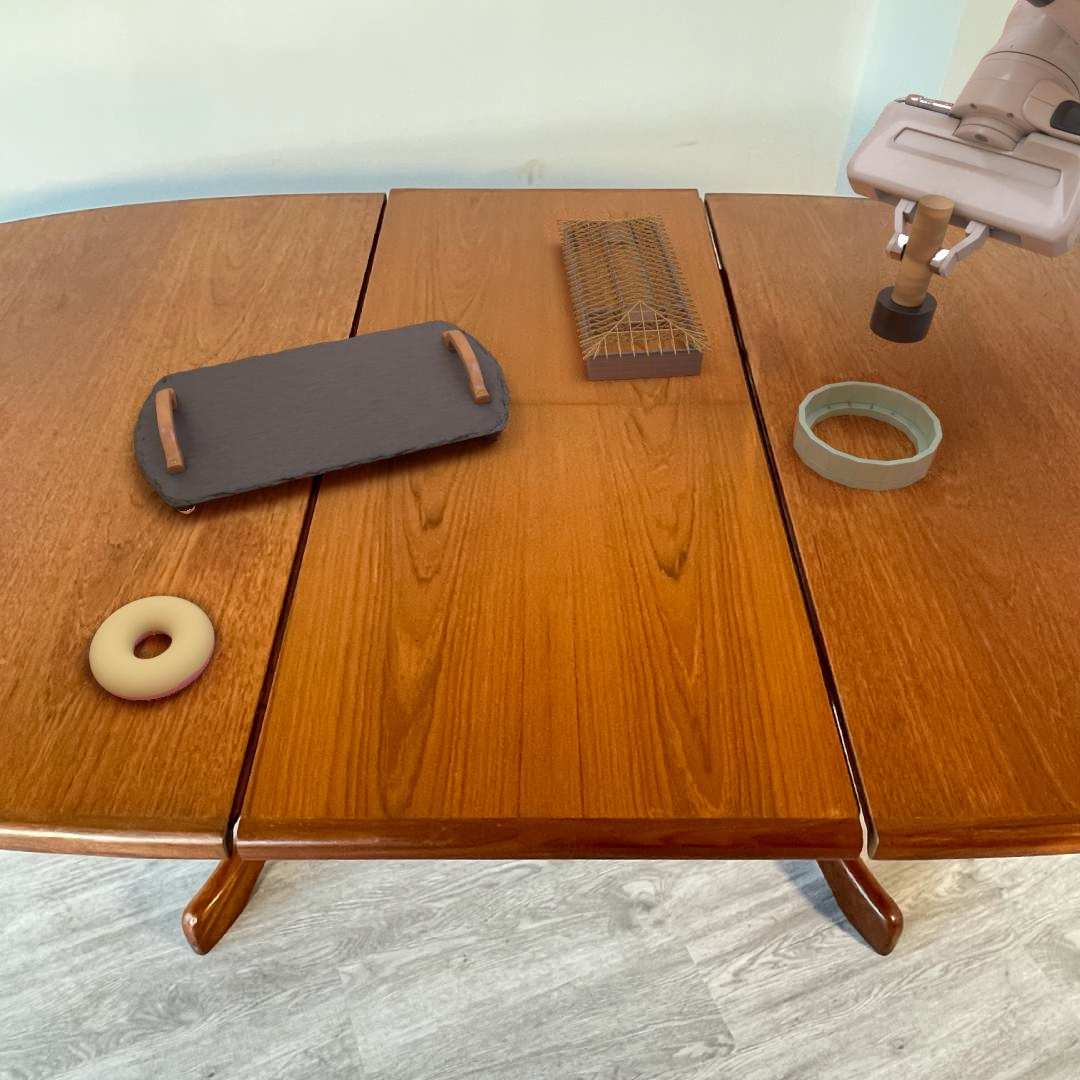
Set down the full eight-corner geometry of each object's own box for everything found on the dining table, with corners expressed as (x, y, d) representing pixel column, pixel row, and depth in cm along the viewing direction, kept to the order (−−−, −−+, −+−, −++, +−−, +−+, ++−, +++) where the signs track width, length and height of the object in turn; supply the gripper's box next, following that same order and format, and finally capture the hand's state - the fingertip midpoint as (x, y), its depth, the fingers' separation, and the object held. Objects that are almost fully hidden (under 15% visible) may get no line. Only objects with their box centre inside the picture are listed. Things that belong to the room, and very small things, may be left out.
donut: (197, 618, 78) (84, 657, 73) (186, 575, 75) (68, 612, 71) (236, 679, 71) (114, 727, 66) (226, 634, 68) (98, 680, 64)
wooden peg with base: (924, 316, 83) (965, 190, 75) (930, 346, 79) (974, 217, 71) (867, 311, 84) (901, 186, 75) (870, 340, 80) (907, 212, 72)
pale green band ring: (919, 428, 92) (933, 388, 88) (933, 512, 82) (950, 471, 79) (789, 415, 94) (798, 375, 90) (789, 496, 85) (799, 455, 81)
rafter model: (709, 378, 99) (716, 330, 95) (582, 385, 98) (583, 337, 94) (658, 238, 124) (661, 195, 120) (556, 243, 123) (556, 200, 119)
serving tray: (146, 536, 82) (123, 486, 78) (138, 401, 98) (118, 353, 93) (535, 442, 91) (534, 393, 87) (471, 332, 107) (467, 285, 102)
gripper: (889, 69, 77) (804, 212, 79) (1132, 127, 67) (1026, 290, 69) (901, 109, 83) (821, 242, 85) (1128, 169, 72) (1030, 320, 74)
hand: (915, 264), depth 77 cm, fingers closed on wooden peg with base, 3 cm apart
